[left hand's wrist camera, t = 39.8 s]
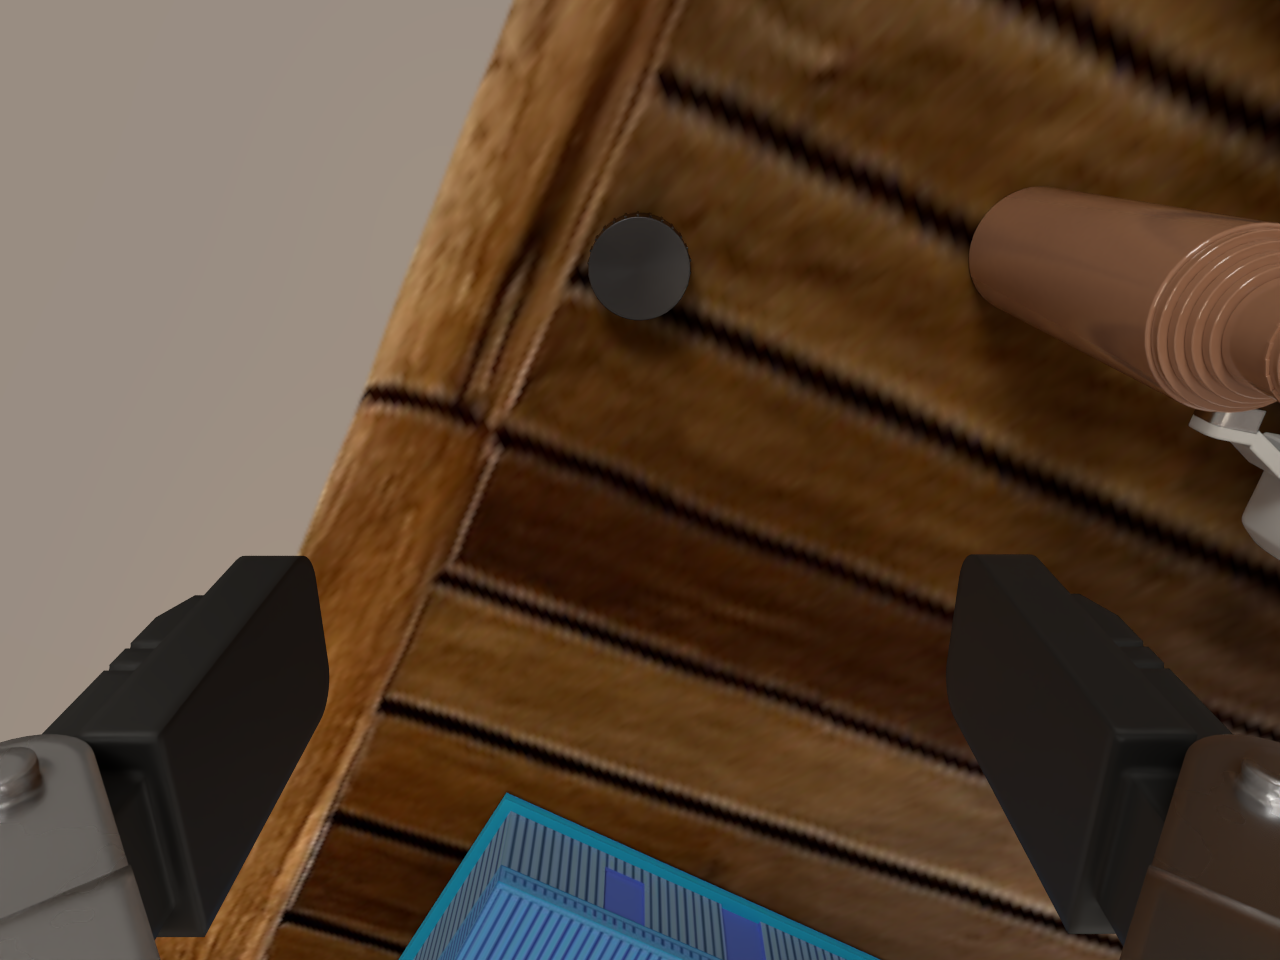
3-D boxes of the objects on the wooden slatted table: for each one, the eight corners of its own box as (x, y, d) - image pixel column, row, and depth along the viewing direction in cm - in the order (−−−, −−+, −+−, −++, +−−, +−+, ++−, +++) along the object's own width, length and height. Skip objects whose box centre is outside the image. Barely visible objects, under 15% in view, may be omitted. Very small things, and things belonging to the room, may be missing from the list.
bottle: (1017, 338, 42) (1303, 501, 24) (942, 251, 40) (1186, 355, 22) (1118, 251, 40) (1503, 354, 22) (1044, 158, 39) (1392, 189, 21)
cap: (699, 223, 40) (702, 228, 38) (676, 322, 41) (678, 331, 40) (600, 201, 39) (598, 204, 38) (580, 301, 41) (578, 309, 39)
